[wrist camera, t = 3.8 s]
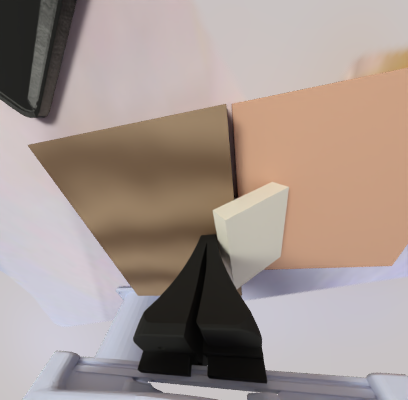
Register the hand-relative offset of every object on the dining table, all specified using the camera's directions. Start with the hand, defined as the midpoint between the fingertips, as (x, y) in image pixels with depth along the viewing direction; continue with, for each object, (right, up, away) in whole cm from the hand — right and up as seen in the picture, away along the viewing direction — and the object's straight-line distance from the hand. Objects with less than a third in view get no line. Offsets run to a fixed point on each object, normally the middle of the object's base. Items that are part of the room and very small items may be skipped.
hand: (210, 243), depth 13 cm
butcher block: (-4, +1, +4) cm, 6 cm away
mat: (+11, +4, +1) cm, 11 cm away
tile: (+3, +1, 0) cm, 3 cm away
